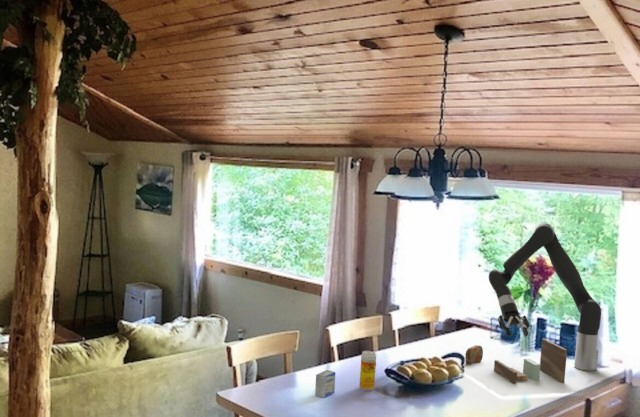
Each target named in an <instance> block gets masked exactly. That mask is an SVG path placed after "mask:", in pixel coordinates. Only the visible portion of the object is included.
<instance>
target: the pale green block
mask: <svg viewBox="0 0 640 417" xmlns="http://www.w3.org/2000/svg"><path fill="white" fill-rule="evenodd" d="M522 366H523V367H522V368H523V369H522V373H523V374H525V375H527V376H528V378H529V379H530V380H533V381H535V380H537V381H539V380H540V377H541V376H540V375H541V371H540V363H538V362H536V361H534V360H533V359H531V358H524V359H523V365H522Z"/></svg>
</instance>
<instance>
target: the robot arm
mask: <svg viewBox="0 0 640 417" xmlns="http://www.w3.org/2000/svg"><path fill="white" fill-rule="evenodd" d="M541 248H544V249H545V251H546V253H547V254H548V257H549V260H550V262H551V265H552V267H553V270H554V271H555V274H556V275H557V277H558V279H559V281H560V282H561V283H562V284H563V286H564V288H565V289H566V290H567V291H568V293H569V294H570V295H571V298H572V300H573V301H574V303H575V306H576V308H577V311H578V313H579V323H578V325H577V330H576V331H577V333H576V341H575V342H576V343H575V344H576V345H575V354H574V356H575V357H574V365H573V366H574V368H575V369H577V370H581V371H588V372H590V371H596V370H598V369H597V368H598V360H599V359H598V358H599V350H598V348H597V347H598V338H599V336H598V335H599V330H600V326H601V319H602V307H601V306H600V304H599V303H598V302H597V301H595V300H594V299H593V297H592V296H591V295H590V293H589V292H588V290H587V289H586V287H585V285H584V281H583V279H582V277H581V274H580V272H579V271H578V269H577V267H576V265H575V264H574V262H573V260H572V259H571V257H570V256H569V255H568V253H567V251H566V250H565V249H564V248H563V246H562V244H561V243H560V241H559V239H558V237H557V235H556V232H555V229H554V227H553V226H552V225H551V224H550V223H547V222H540V223H538V224H537V225H536V226H535V228H534V230H533V233H532V235H531V236H530V238H529V239H528V240H527V241H526V242H525V243H524V244H523V245H522V246H521V247H519V248H518V249H517V250H516V251H514V252H513V253H512V254H511V255H510V256H509V257H508V258H507V259H506V260H505V261H504V262H503V264H502V267H503V268H504V270H503V271H500V270H499V269H491V271H489V273H488V281H489V283H490V285H491V287H492V289H493V290H494V292H495V294H496V297H497V300H498V305H499V308H500V312H501V315H498V317H497V321H498V325H499V328H500V329H501V330H504V331H505V335H506V336H507V337H511V336H512V333H511V330H510V327H513V326H514V327H515V326H516V327H518V328H520V329H521V330H522V334H523V336H524V338H527V337H528V335H529V331H528V329H529V328H530V322H529V320H528V317H527V316H526V315H523V316H520V315H519V314H520V312H519V310H518V307H517V304H516V301H515V298H514V296H513V294H512V291H511V289H510V287H509V286H508V285H509V283H510V282H511V280H512V278H514V275H515V273H516V272H517V271H519V269H520V268H521V267H522V266H523V265H524V264H526V262H528V260H529V259H530V258H531V257H532V256H533V255H535V253H536V252H538V251H539V250H541ZM504 321H505V322H504Z"/></svg>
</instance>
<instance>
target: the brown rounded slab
mask: <svg viewBox="0 0 640 417" xmlns="http://www.w3.org/2000/svg"><path fill="white" fill-rule="evenodd" d="M483 350H484V348H483V347H482V346H481V345H478V344H477V345H473V346H471V347H468V348H467V350H466V351H465V357H464V358H465V364H466V365H470V366H471V365H472V364H480V363H481V362H482V360H483V357H484V351H483Z"/></svg>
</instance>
